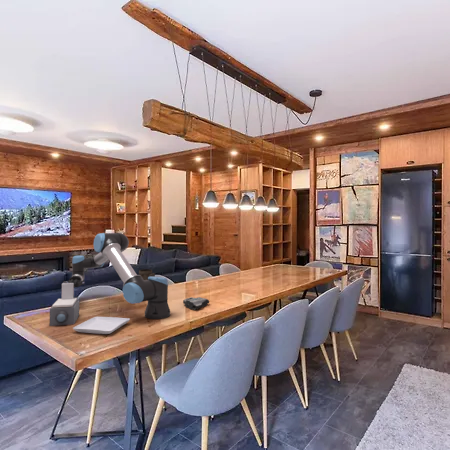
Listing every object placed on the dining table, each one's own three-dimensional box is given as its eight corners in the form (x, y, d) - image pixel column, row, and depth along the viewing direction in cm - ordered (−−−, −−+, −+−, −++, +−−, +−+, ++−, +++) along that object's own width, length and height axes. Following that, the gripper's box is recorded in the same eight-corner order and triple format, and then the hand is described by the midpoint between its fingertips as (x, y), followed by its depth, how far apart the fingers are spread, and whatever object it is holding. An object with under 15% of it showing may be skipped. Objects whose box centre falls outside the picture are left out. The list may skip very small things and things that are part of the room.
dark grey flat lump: (210, 304, 223) (210, 297, 223) (197, 311, 204) (197, 303, 204) (189, 302, 229) (189, 295, 229) (175, 309, 210) (175, 301, 210)
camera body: (73, 325, 173) (73, 308, 173) (48, 327, 170) (48, 309, 170) (79, 314, 193) (79, 299, 193) (56, 316, 190) (57, 300, 189)
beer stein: (134, 296, 243) (135, 269, 242) (142, 293, 253) (144, 268, 252) (151, 299, 237) (153, 272, 237) (159, 296, 247) (161, 270, 247)
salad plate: (71, 334, 161) (71, 327, 161) (95, 321, 182) (95, 315, 182) (110, 337, 157) (110, 330, 157) (130, 324, 178) (130, 318, 178)
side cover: (72, 306, 176) (72, 288, 176) (52, 307, 173) (52, 288, 173) (77, 299, 192) (77, 282, 191) (58, 300, 189) (58, 283, 189)
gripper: (86, 285, 218) (81, 293, 196) (65, 286, 215) (57, 294, 192) (86, 274, 218) (81, 281, 196) (65, 275, 215) (57, 281, 192)
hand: (69, 287), depth 194 cm, fingers closed
